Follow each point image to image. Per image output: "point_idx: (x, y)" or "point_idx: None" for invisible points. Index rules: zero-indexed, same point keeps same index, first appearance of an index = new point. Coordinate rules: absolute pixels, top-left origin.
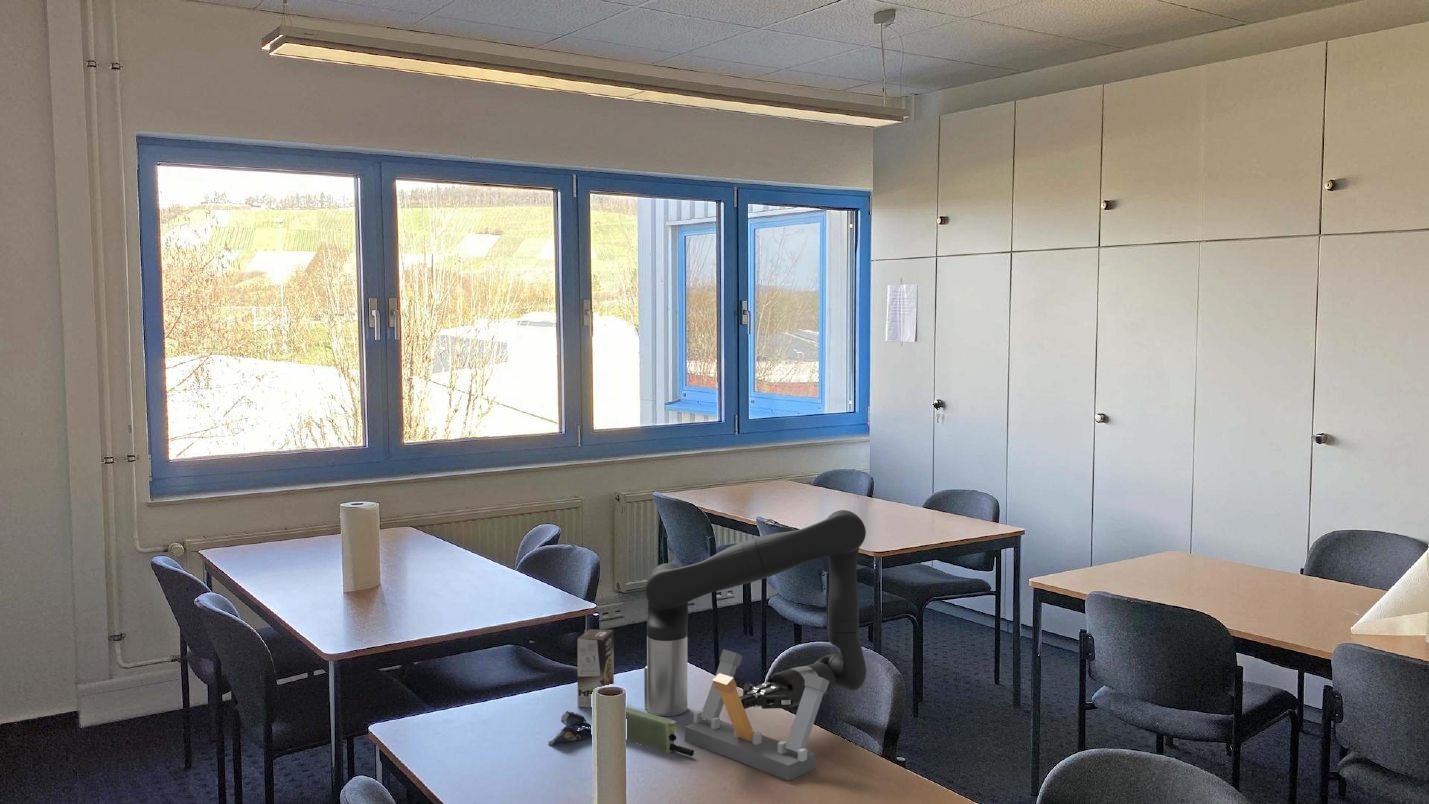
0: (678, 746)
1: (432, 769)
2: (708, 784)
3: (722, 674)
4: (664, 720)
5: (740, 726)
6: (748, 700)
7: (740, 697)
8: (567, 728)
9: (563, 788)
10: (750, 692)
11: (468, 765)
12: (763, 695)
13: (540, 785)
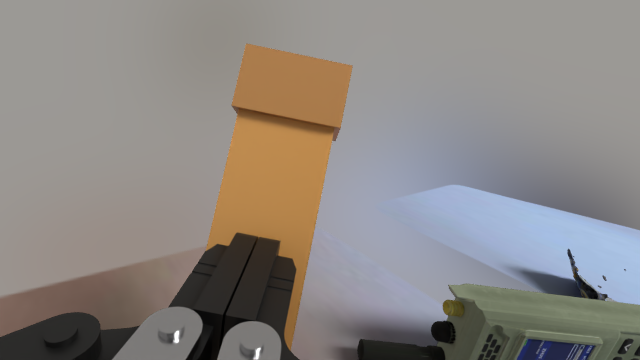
0: (414, 347)
1: (518, 204)
2: None
3: (325, 60)
4: (487, 291)
5: None
6: (202, 267)
7: (260, 247)
8: (570, 253)
9: (392, 206)
10: (243, 330)
11: (518, 215)
12: (75, 323)
13: (417, 206)
